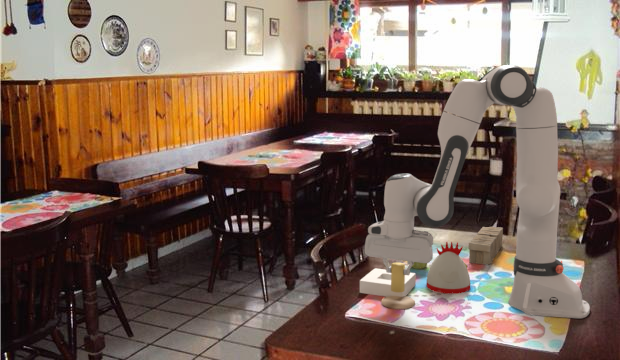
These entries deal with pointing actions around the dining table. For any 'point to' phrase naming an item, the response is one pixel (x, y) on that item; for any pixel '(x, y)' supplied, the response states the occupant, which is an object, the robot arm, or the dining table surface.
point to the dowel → (397, 277)
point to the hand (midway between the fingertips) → (398, 273)
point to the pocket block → (384, 283)
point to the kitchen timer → (448, 272)
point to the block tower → (485, 245)
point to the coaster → (398, 302)
